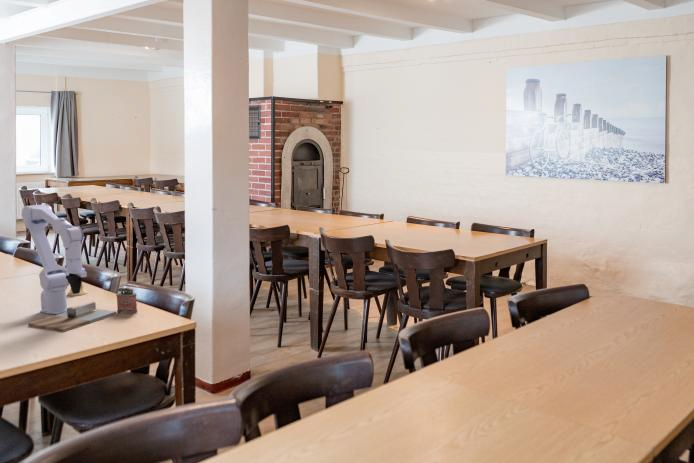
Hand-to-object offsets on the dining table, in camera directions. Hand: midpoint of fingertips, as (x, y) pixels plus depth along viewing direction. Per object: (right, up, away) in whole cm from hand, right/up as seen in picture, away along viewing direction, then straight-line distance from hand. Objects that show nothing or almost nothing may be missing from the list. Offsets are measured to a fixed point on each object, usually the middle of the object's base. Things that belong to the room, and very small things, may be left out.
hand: (76, 293), depth 266 cm
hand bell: (-15, -4, +40) cm, 43 cm away
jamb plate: (-3, -11, -9) cm, 15 cm away
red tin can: (+17, -8, +8) cm, 21 cm away
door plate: (+3, -9, +2) cm, 10 cm away
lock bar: (+2, -8, 0) cm, 8 cm away
